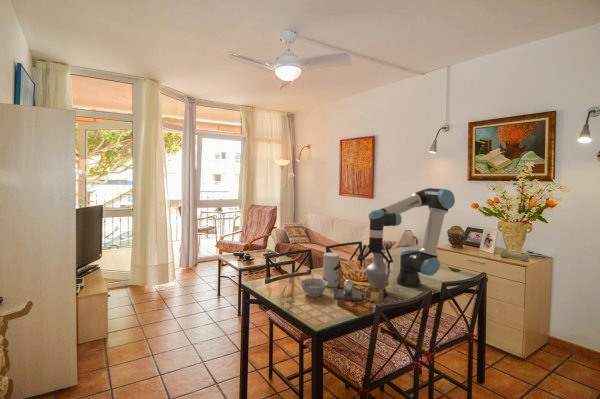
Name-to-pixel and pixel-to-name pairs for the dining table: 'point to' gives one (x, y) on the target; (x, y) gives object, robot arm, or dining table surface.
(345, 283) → the piston block
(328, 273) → the container
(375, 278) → the vase
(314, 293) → the bowl
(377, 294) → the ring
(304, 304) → the dining table surface
